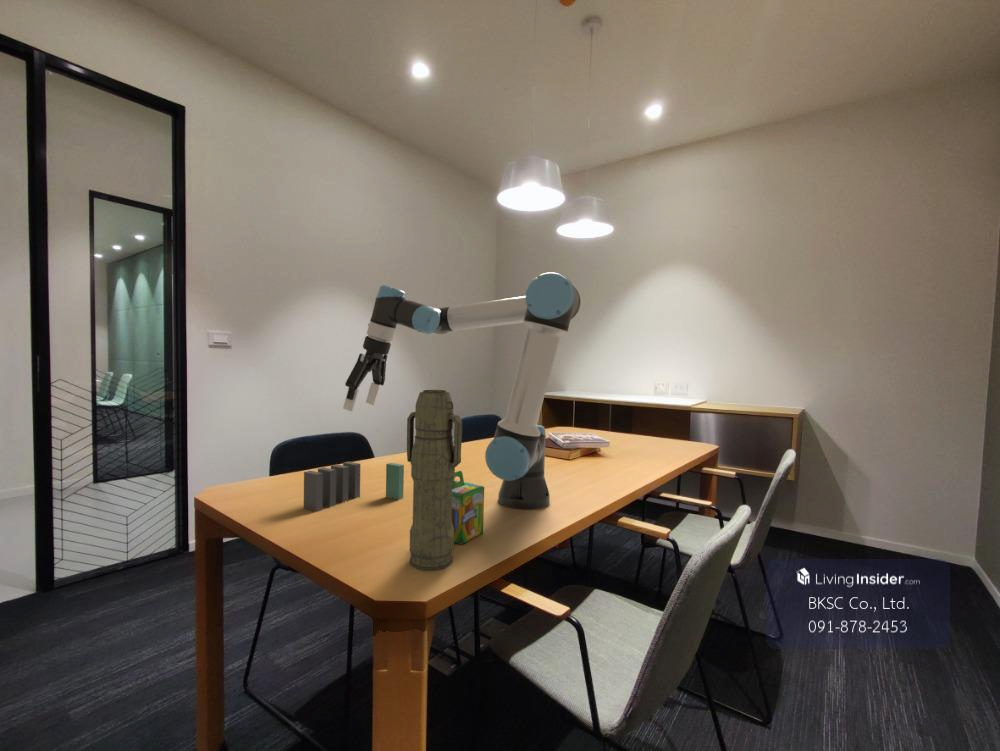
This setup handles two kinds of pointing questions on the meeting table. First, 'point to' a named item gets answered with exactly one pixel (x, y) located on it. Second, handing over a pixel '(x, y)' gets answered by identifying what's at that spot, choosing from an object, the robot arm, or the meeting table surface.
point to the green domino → (394, 480)
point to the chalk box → (467, 509)
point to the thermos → (433, 478)
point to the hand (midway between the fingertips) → (359, 406)
